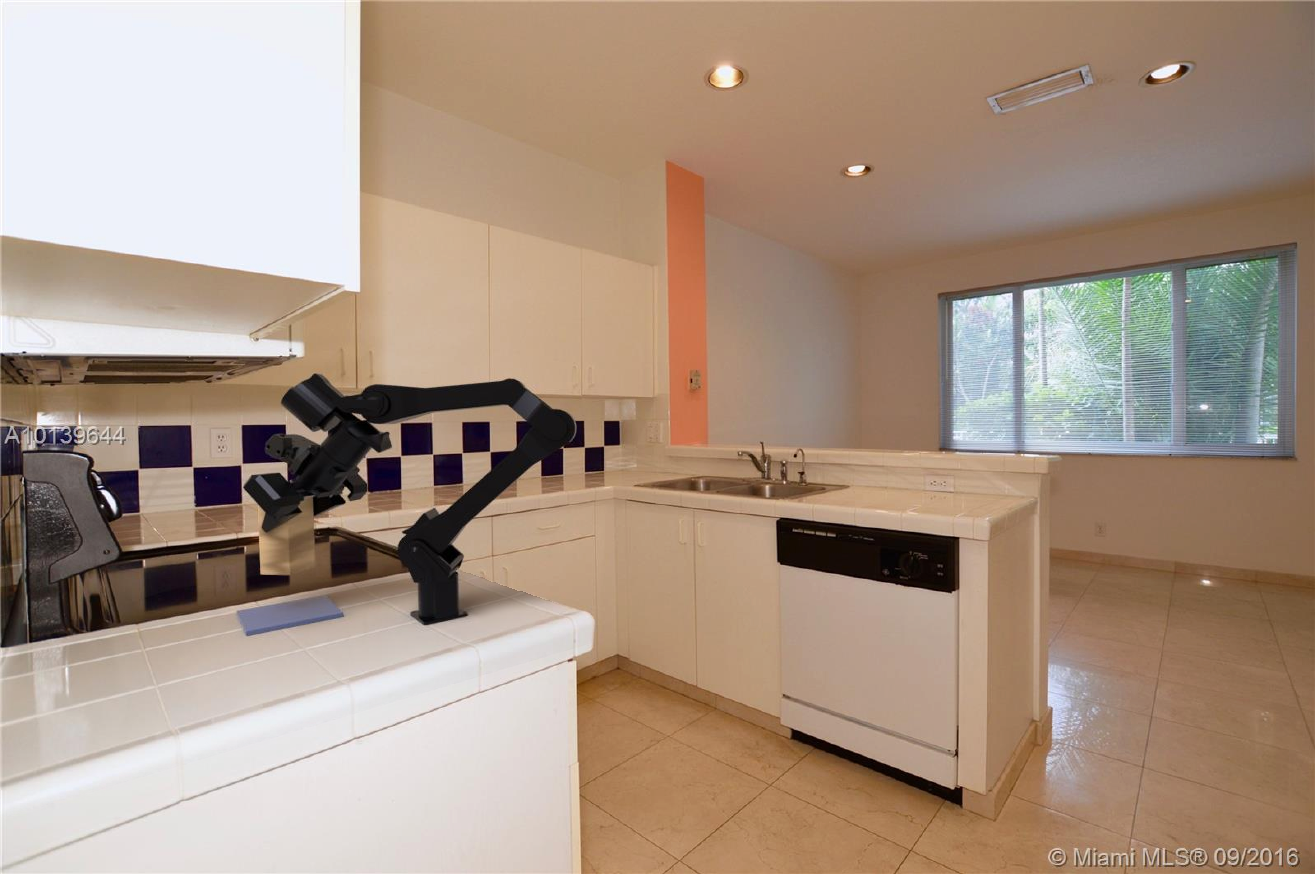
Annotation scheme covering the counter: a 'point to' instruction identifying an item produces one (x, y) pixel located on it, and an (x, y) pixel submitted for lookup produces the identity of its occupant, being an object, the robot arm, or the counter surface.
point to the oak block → (288, 543)
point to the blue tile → (287, 614)
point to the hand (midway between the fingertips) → (278, 526)
